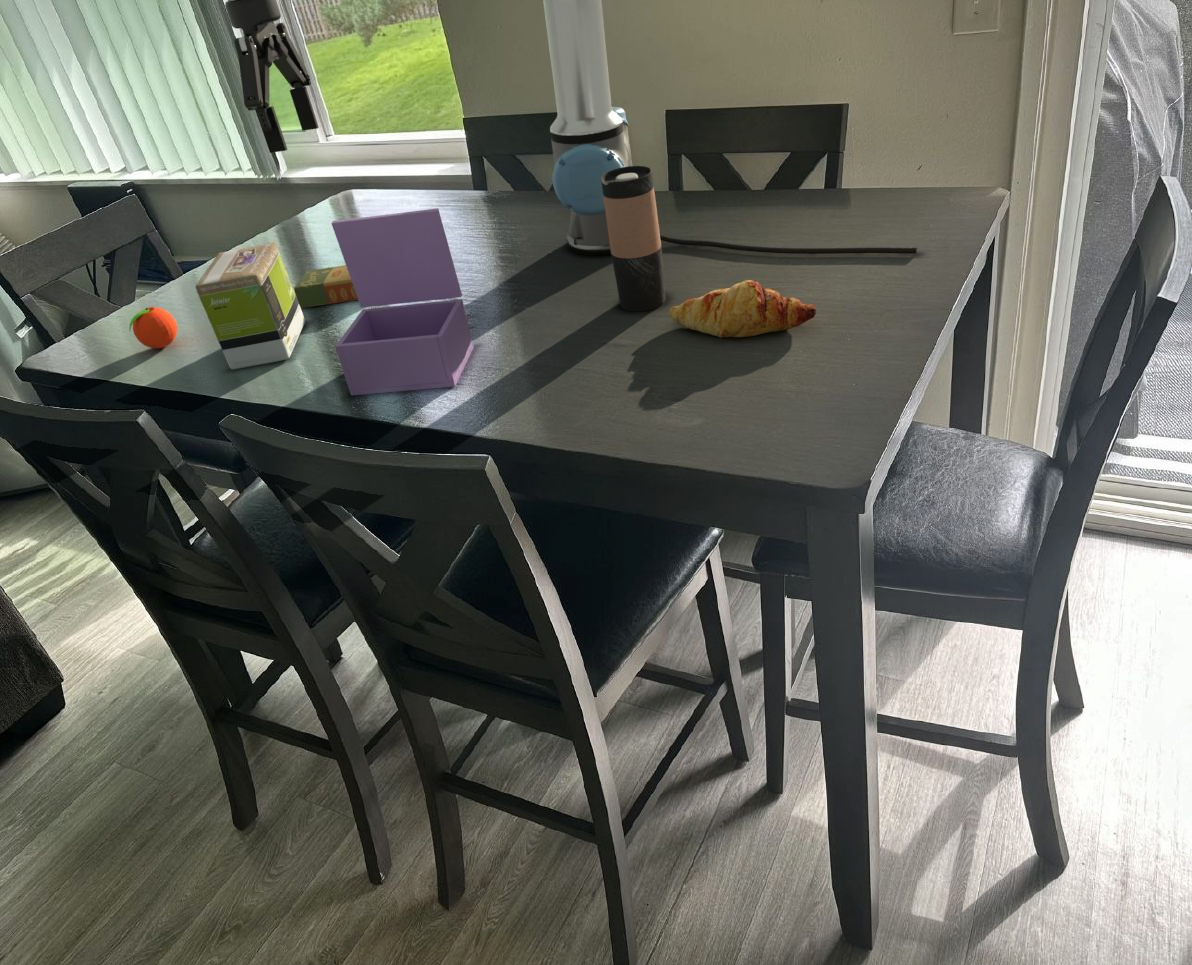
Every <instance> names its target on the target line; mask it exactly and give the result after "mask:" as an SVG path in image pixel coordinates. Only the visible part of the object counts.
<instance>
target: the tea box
mask: <svg viewBox="0 0 1192 965" xmlns="http://www.w3.org/2000/svg"><path fill="white" fill-rule="evenodd" d="M194 287H195V290H196V293H197V296H198V298H199V301H200V302H201V304H202V306H203V309H204V311H205V313H206V316H207V320H208V321H209V323H210V325H211V328H212V330H213V332H214V335H215V337H216V339H217V342H218V344H219V346H220V348H221V351H222V354H223V356H224V358H225V360H226V362H227V364H228V367H229V369H230V370H238V369H244V368H250V367H255V366H259V365H265V364H266V365H267V364H271V363H276V362H281V361H285V360H289V359H290V358H291V356H292V353H293V351H294V349H295V346H296V344H297V341H298V339H299V337H300V335H301V332H302V331H303V328H304V326H305V324H306V319H305V316H304V313H303V311H302V308H301V307H300V305H299V303H298V300H297V297H296V294H295V291H294V287H293V284H292V282H291V279H290V277H289V273H288V271H287V268H286V266H285V263H284V261H283V258H282V255H281V253H280V250H279V247H278V245H277V242H276V241H275V242H268V243H263V244H259V245H253V246H249V247H243V248H239V249H234V250H228V251H223V252H221V251H220V252H218V253H217V254H216V256H215V258H214V259H213V261H212V262H211V263H210V265H209V266H208V267H207V269H206V270H205V272H204V273H203V274H202V275H201V278H200V279H199V281H198V282H197V284H195V286H194Z"/></svg>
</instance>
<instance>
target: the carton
mask: <svg viewBox="0 0 1192 965" xmlns="http://www.w3.org/2000/svg"><path fill="white" fill-rule="evenodd" d="M293 290H294V292H295V295H296V298H297V301H298V303H299V306H300V308H301V309H305V308H310V307H318V306H324V305H330V304H336V303H345V302H352V301H359V300H358V297H357V295H356V292H355V289H354V286H353V283H352V280H351V278H350V275H349V272H348V269H347V266H346V264H344V265H337V266H331V267H324V268H317V269H311V270H306V271H305V273H304V274H303V275H302V276H301V278H300V279H299V281H298V282H297V284H295V285H294V287H293Z"/></svg>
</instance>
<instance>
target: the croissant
mask: <svg viewBox="0 0 1192 965" xmlns="http://www.w3.org/2000/svg"><path fill="white" fill-rule="evenodd" d="M816 307H817V306H816V304H814V303H802V301H801V300H800V299H798V298H794V297H785V296H782V295H781V294H780V293H779V292H778V291H777V290H774V288H766V287H763V285H762V284H760V282H758V281H757V280H749V279H745V280H743V281H741V282H738V283H735V284H733V285H732V286H731V287H728V288H727V287H725V288H718V289H714V290H711V291H710V292H708V293H705V294H704V295H702V296H700V297H695V298H689V299H687V300H685V301H684V302H682V303H681V304H679V305H674V306H671V308H670V309H669V317H670V319H671V320H672V321H673V322H675V323H677V324H678V325H681V326H684V327H685V328H687V329H689V330H692V331H697V332H700V333H703V334H707V335H711V336H715V337H718V338H724V337H725V338H731V337H732V338H746V337H755V336H758V335H764V334H766V333H771V332H781V331H785V330H790V329H793V328H797V327H799V326H802V325H803V324H805V323H806V322H808V321H810V320H812V319H814V318H815V316H816V315H817V308H816Z"/></svg>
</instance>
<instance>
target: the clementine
mask: <svg viewBox="0 0 1192 965" xmlns="http://www.w3.org/2000/svg"><path fill="white" fill-rule="evenodd" d="M177 324H178V323H177V321H176V320H175V317H174V316H173V315H172V314H171V312H169V311H167V310H166V309H164V308H160V307H156V306H152V307H146V308H144V309H141V310H140V311H139V312H137V313H136V314H135V315H134V316H133V317H132V319H131V320H130V323H129V328H128V330H129V331H131V328H132V331H133V334H134V336H135V337H136V340H137V341H138V342H139V343H141V344H142V345H143V346H145V347H148V348H151V349H162V348H163V349H164V348H165V347H167V346H169V345H170V344H172V343H173V342H174V340H175V339H176V337H177V334H178V325H177Z"/></svg>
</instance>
